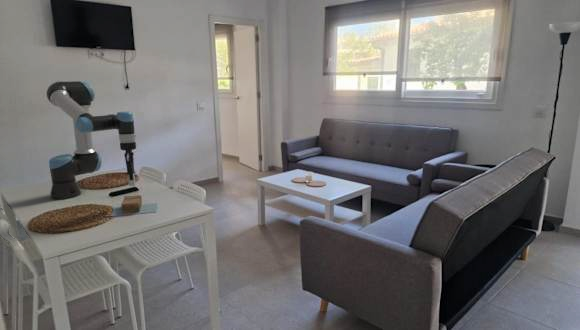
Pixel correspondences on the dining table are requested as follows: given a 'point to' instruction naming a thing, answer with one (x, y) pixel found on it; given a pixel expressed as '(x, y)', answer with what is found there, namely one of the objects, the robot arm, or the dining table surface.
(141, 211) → the mat
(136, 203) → the walnut block
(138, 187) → the dining table surface
